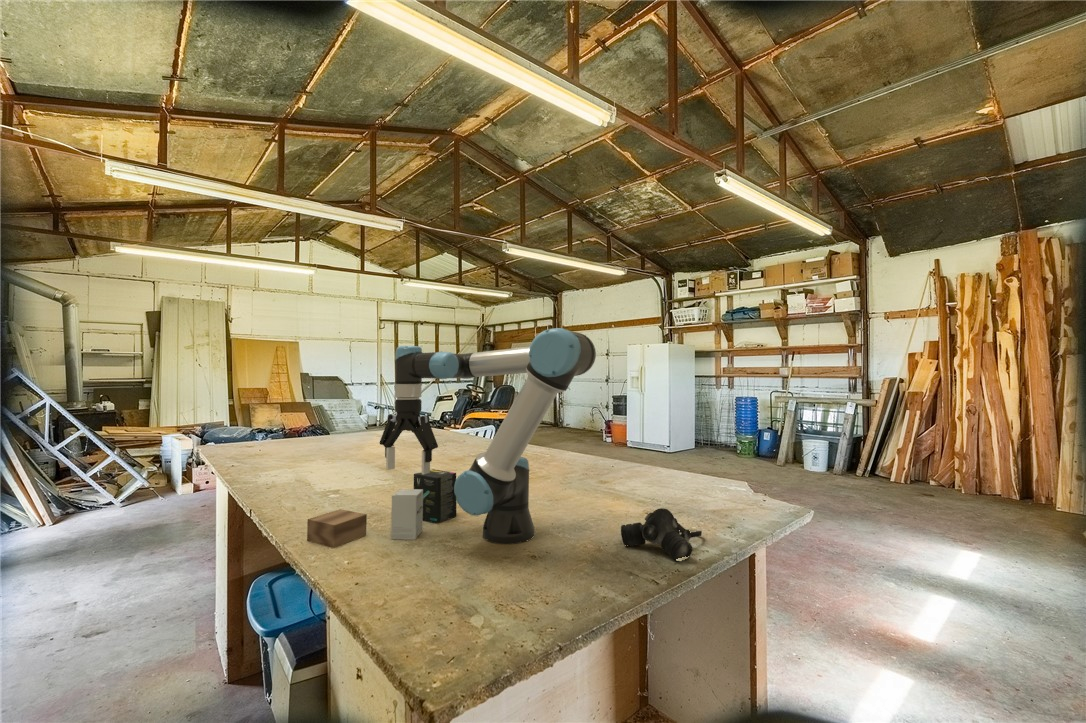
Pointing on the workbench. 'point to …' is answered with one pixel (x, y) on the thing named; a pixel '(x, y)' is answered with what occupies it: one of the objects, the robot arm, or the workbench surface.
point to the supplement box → (407, 514)
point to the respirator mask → (660, 533)
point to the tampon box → (437, 495)
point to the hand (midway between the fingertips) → (407, 471)
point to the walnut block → (336, 527)
